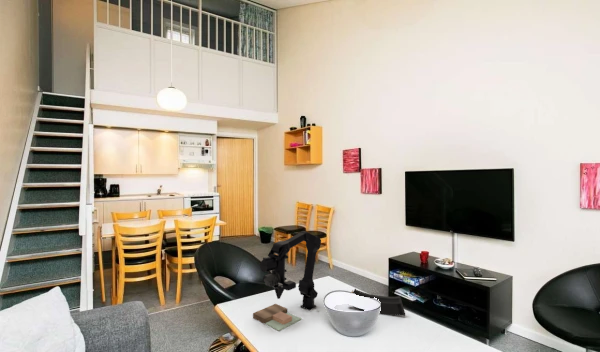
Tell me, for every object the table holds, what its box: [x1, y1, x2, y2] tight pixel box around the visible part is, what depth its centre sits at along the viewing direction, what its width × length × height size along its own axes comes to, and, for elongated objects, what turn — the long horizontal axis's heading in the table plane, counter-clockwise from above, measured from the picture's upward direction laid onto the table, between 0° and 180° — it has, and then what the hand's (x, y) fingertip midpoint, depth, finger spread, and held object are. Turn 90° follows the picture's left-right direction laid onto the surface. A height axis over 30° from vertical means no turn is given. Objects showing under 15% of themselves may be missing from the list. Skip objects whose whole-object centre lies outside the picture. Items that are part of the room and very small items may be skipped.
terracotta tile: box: [272, 312, 292, 325], centre depth 153 cm, size 6×8×2 cm
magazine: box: [350, 288, 406, 316], centre depth 165 cm, size 17×3×30 cm
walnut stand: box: [252, 303, 288, 325], centre depth 159 cm, size 16×9×2 cm, turn 138°
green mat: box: [264, 312, 302, 332], centre depth 152 cm, size 16×10×1 cm, turn 138°
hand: (278, 298), depth 155 cm, fingers closed
